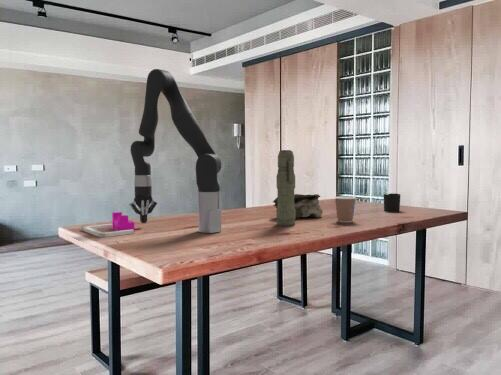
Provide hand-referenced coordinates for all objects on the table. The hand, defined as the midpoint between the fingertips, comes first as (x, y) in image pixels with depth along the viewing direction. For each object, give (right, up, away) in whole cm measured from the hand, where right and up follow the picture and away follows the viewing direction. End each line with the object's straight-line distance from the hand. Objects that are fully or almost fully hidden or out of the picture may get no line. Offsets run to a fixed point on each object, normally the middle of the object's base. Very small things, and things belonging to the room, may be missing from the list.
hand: (143, 223), depth 192 cm
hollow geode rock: (+74, 0, +31) cm, 80 cm away
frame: (-12, -3, -10) cm, 16 cm away
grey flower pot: (+95, -1, +16) cm, 97 cm away
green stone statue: (+65, -2, +7) cm, 66 cm away
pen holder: (+132, +2, +56) cm, 144 cm away
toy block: (-7, -3, -7) cm, 10 cm away
